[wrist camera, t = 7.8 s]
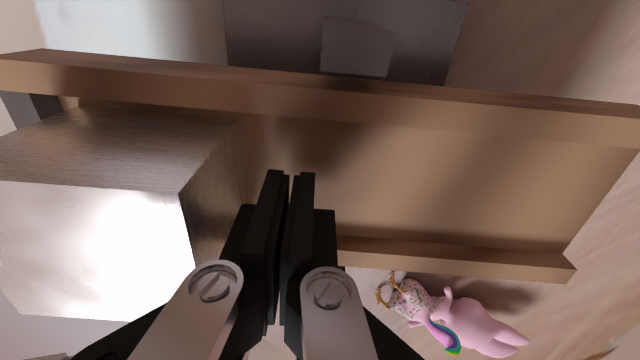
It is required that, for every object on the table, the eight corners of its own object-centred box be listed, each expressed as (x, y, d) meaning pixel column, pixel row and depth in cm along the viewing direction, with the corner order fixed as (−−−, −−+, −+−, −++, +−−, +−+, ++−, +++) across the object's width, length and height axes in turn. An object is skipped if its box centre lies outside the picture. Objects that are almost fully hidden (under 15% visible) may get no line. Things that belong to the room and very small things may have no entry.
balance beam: (635, 104, 11) (698, 124, 9) (536, 250, 15) (565, 284, 13) (42, 48, 11) (-20, 57, 9) (108, 214, 15) (76, 244, 13)
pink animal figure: (366, 288, 29) (493, 345, 30) (365, 344, 24) (519, 411, 24) (399, 247, 26) (539, 312, 27) (406, 302, 21) (579, 380, 21)
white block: (238, 118, 11) (177, 193, 6) (247, 224, 13) (208, 326, 9) (78, 106, 10) (-95, 173, 6) (119, 215, 13) (20, 314, 9)
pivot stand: (460, 2, 15) (595, -1, 7) (398, 214, 22) (434, 316, 15) (227, -21, 14) (125, -50, 7) (243, 202, 21) (202, 302, 14)
